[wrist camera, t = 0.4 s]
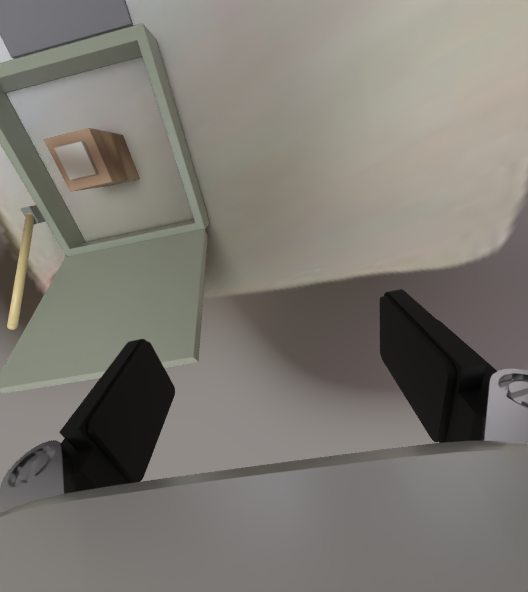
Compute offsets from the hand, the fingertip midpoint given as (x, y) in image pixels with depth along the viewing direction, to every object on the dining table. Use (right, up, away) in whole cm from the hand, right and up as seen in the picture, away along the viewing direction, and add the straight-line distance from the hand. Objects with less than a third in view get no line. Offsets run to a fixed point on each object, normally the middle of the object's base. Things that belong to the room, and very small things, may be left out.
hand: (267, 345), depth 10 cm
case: (-19, +16, +25) cm, 35 cm away
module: (-20, +20, +22) cm, 36 cm away
